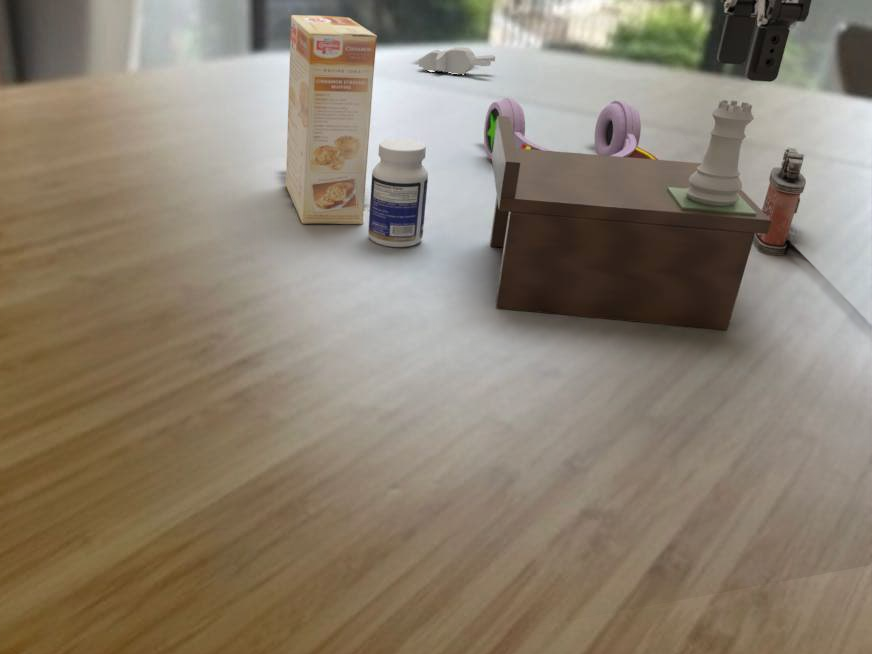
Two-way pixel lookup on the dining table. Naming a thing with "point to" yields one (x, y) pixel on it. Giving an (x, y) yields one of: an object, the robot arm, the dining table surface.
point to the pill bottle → (398, 194)
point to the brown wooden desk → (615, 238)
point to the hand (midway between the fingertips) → (743, 71)
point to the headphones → (612, 129)
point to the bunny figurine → (454, 60)
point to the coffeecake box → (329, 117)
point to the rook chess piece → (721, 157)
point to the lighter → (781, 203)
